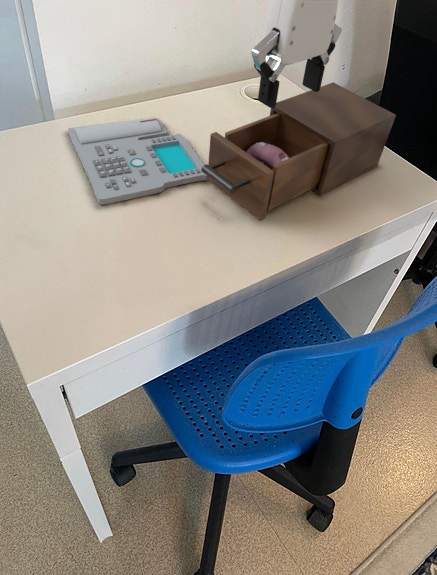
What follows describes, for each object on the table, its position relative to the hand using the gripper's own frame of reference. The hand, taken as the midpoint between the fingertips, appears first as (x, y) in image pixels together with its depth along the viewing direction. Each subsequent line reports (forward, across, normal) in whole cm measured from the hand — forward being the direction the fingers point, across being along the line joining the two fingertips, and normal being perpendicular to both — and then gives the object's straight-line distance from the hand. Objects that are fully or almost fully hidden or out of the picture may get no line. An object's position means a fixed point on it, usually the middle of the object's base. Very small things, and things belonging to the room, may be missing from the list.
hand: (289, 96), depth 75 cm
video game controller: (+15, +2, 0) cm, 15 cm away
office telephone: (+16, +15, -21) cm, 30 cm away
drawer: (+16, +4, -1) cm, 16 cm away
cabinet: (+17, -13, -1) cm, 21 cm away
